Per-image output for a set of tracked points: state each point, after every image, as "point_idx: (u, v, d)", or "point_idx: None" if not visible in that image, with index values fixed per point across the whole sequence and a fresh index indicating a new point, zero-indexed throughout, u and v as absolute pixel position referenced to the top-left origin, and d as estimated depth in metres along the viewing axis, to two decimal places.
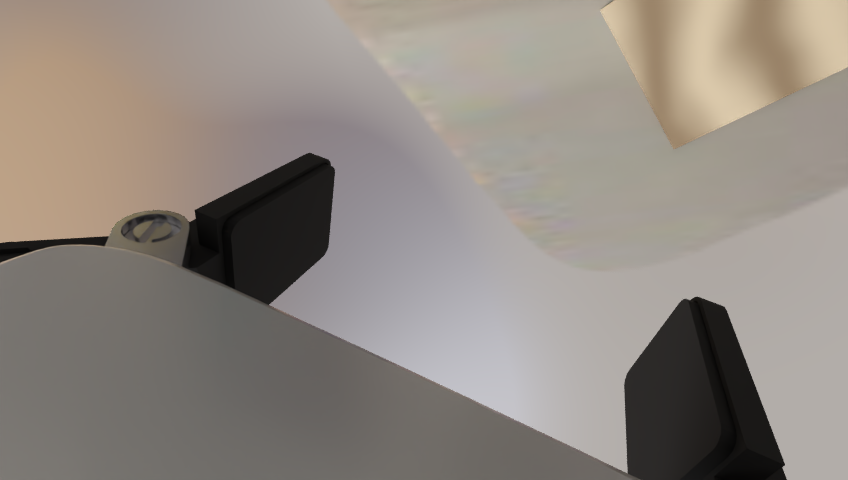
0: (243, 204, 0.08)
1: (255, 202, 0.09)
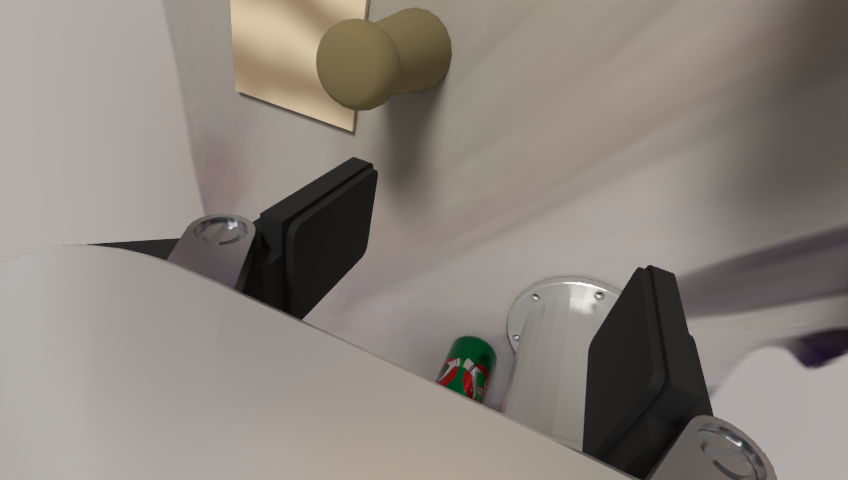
0: (303, 207, 0.09)
1: (312, 205, 0.09)
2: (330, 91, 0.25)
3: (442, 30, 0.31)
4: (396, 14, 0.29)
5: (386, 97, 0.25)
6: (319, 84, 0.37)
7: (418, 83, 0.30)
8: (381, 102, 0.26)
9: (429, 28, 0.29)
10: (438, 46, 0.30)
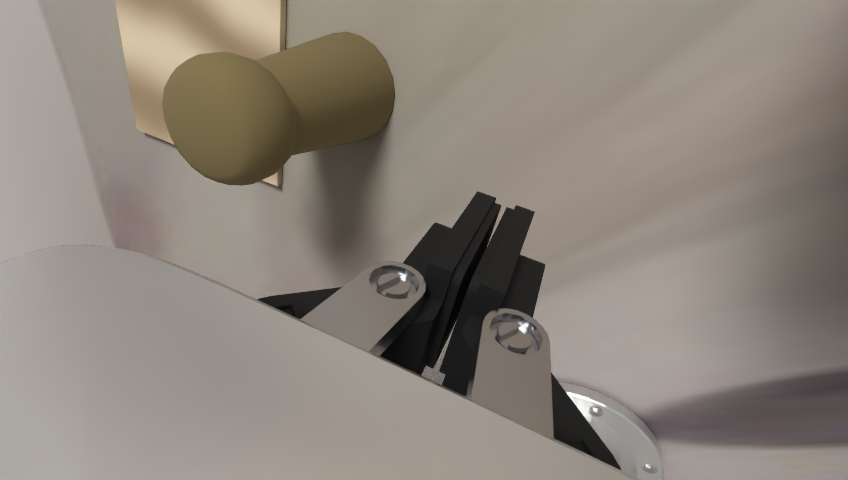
0: (463, 254, 0.08)
1: (466, 250, 0.09)
2: (186, 158, 0.17)
3: (379, 63, 0.22)
4: (311, 41, 0.21)
5: (272, 168, 0.17)
6: None
7: (342, 136, 0.22)
8: (266, 175, 0.17)
9: (357, 61, 0.21)
10: (371, 86, 0.22)
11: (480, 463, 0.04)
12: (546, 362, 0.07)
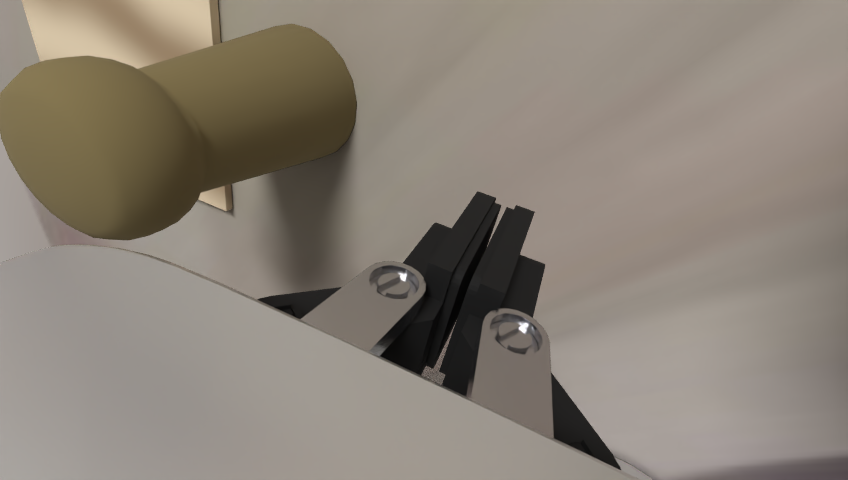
0: (463, 253, 0.08)
1: (466, 250, 0.09)
2: (45, 206, 0.12)
3: (333, 63, 0.18)
4: (241, 37, 0.16)
5: (166, 218, 0.12)
6: None
7: (286, 159, 0.17)
8: (160, 226, 0.12)
9: (301, 62, 0.16)
10: (321, 94, 0.17)
11: (480, 463, 0.04)
12: (546, 362, 0.07)
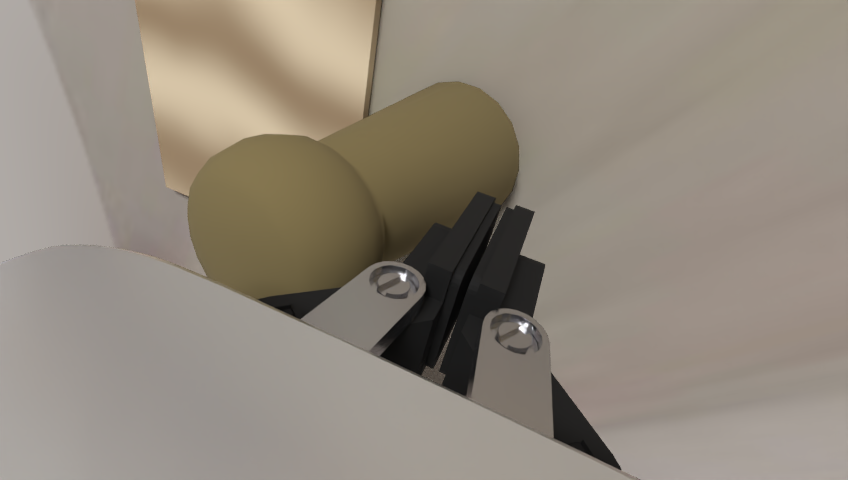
0: (463, 253, 0.08)
1: (466, 250, 0.09)
2: None
3: (503, 128, 0.16)
4: (412, 98, 0.15)
5: None
6: None
7: None
8: None
9: (475, 129, 0.14)
10: (491, 164, 0.15)
11: (480, 463, 0.04)
12: (546, 362, 0.07)
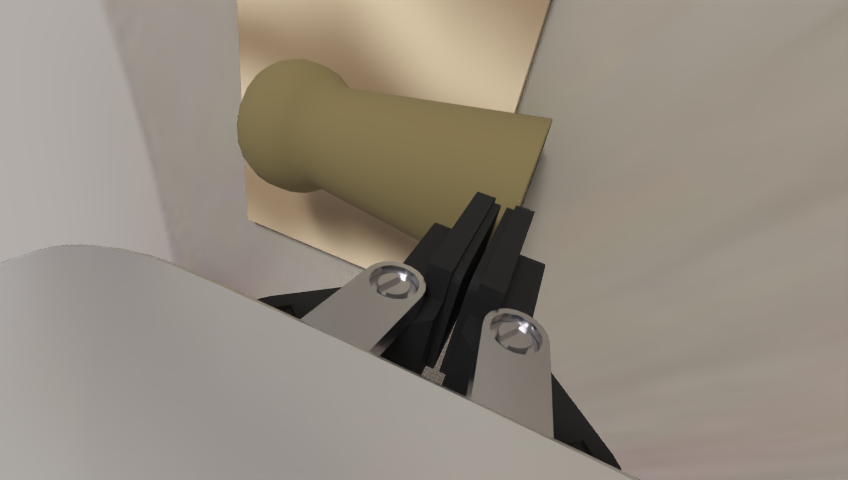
0: (463, 253, 0.08)
1: (466, 250, 0.09)
2: None
3: (509, 164, 0.12)
4: None
5: (258, 171, 0.16)
6: None
7: (395, 222, 0.15)
8: (262, 177, 0.16)
9: (463, 140, 0.13)
10: (451, 181, 0.13)
11: (480, 463, 0.04)
12: (546, 362, 0.07)
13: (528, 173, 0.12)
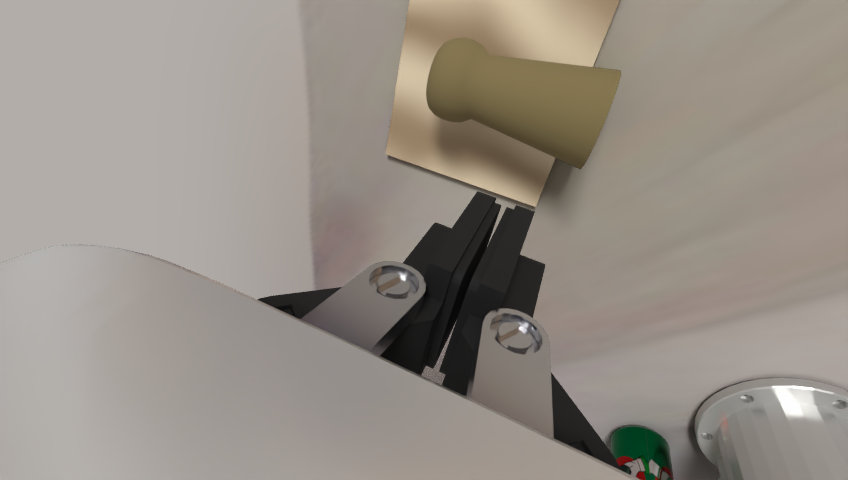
0: (463, 254, 0.08)
1: (466, 250, 0.09)
2: None
3: (602, 92, 0.23)
4: None
5: (438, 105, 0.26)
6: (503, 154, 0.31)
7: (526, 133, 0.25)
8: (438, 110, 0.27)
9: (573, 80, 0.23)
10: (568, 103, 0.23)
11: (480, 463, 0.04)
12: (546, 362, 0.07)
13: (613, 96, 0.22)
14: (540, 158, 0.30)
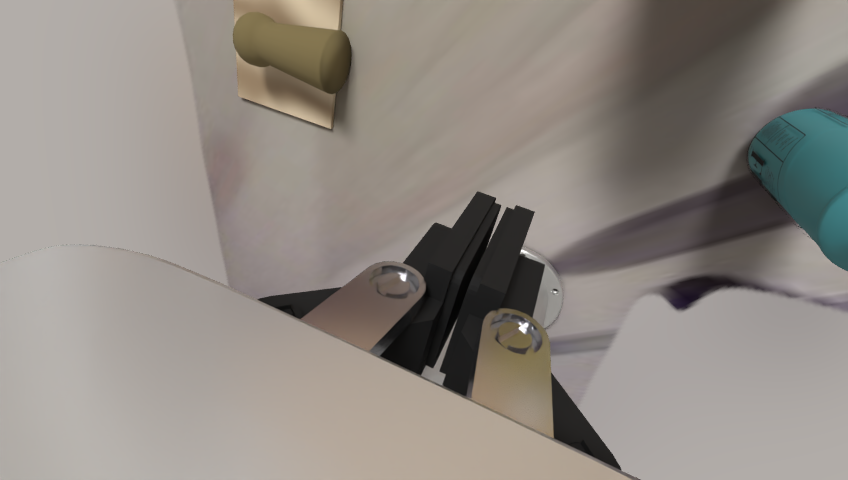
0: (463, 253, 0.08)
1: (466, 249, 0.09)
2: None
3: (319, 41, 0.39)
4: None
5: (240, 53, 0.42)
6: (304, 92, 0.47)
7: (289, 69, 0.41)
8: (242, 57, 0.42)
9: (307, 35, 0.39)
10: (303, 48, 0.39)
11: (480, 463, 0.04)
12: (546, 362, 0.07)
13: (324, 43, 0.38)
14: (325, 93, 0.46)
